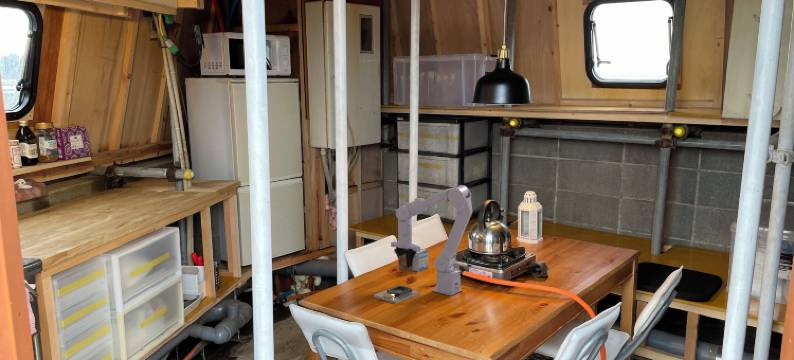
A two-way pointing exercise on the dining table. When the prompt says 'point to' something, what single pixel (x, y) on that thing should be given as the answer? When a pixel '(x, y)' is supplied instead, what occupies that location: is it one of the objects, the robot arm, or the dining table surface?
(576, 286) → the dining table surface
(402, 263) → the walnut wedge block
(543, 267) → the caster wheel
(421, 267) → the medicine box
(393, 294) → the steel rosette plate
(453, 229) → the robot arm
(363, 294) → the dining table surface
